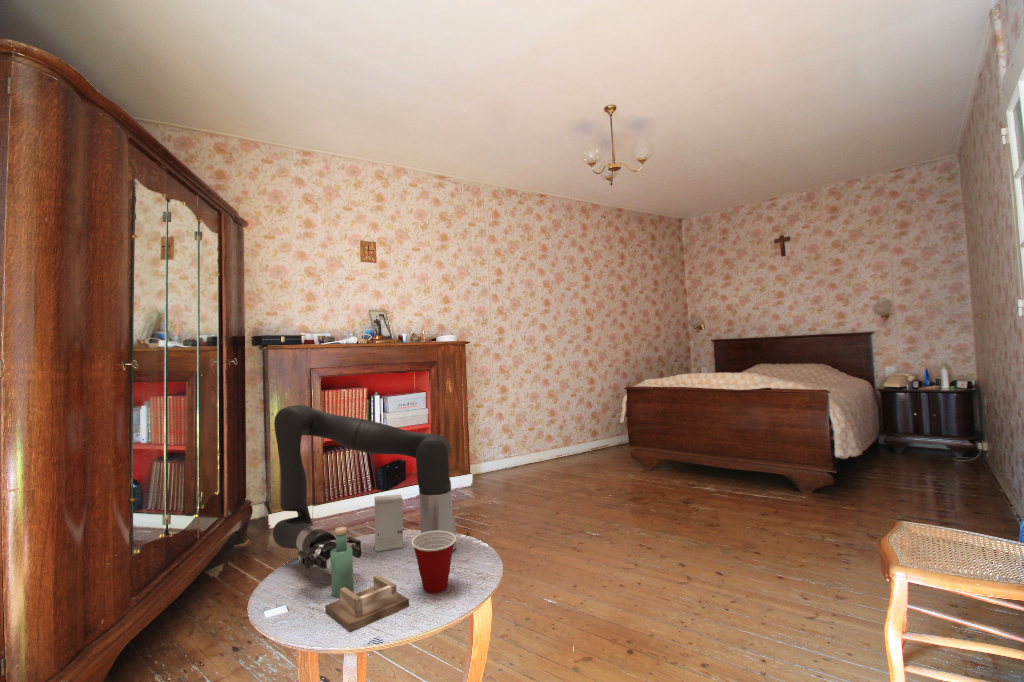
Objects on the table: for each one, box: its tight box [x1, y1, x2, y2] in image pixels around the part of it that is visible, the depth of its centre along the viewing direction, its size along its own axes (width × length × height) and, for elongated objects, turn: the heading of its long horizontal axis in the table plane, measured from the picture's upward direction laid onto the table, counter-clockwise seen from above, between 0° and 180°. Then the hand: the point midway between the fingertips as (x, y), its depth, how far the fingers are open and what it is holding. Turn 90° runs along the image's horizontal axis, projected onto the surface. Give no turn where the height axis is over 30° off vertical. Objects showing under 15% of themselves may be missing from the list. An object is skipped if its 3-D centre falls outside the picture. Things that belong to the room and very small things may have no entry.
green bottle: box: [330, 526, 355, 598], centre depth 118 cm, size 5×5×15 cm
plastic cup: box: [411, 530, 457, 594], centre depth 117 cm, size 11×11×12 cm
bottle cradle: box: [324, 574, 410, 632], centre depth 108 cm, size 14×12×5 cm
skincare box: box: [374, 494, 404, 553], centre depth 146 cm, size 8×6×15 cm
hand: (342, 559), depth 117 cm, fingers open, 8 cm apart
